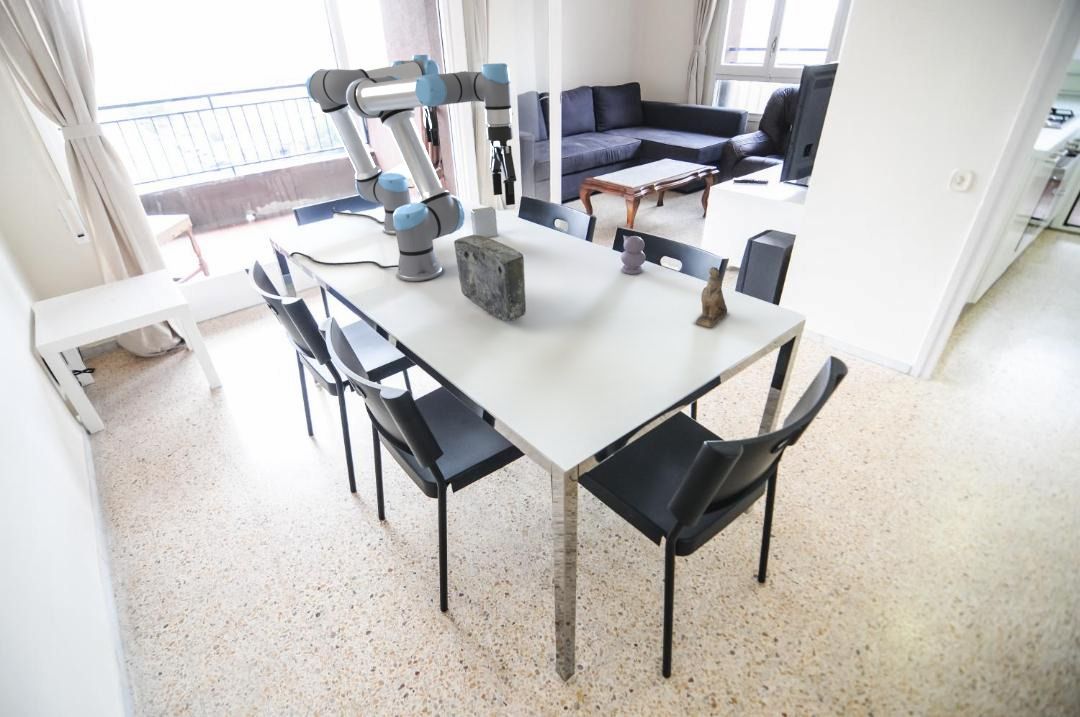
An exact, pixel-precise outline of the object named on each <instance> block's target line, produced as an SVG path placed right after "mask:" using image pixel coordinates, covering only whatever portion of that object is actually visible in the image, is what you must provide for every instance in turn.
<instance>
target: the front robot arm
mask: <svg viewBox="0 0 1080 717" xmlns="http://www.w3.org/2000/svg"><path fill="white" fill-rule="evenodd" d="M346 99H347V103H348V105H349V107H350V111H351V112H352V113H353V114H355V115H356V116H358V117H360V118H362V119H379V120H380V122H381V125H382V126H383V127H384V128H386V129H387V130H389V131H390V134H391V135H392V138H393V140H394V143H395V145H396V147H397V149H398V151H399V153H400V156H401V158H402V160H403V163H404V164H405V167H406V169H407V171H408V174H409V175H410V178H411V180H412V182H413V184H414V187H415V189H416V192H417V194H418V195H419V200H418V202H411V204H406V205H403V206H401V207H399V208H398V209H396V210H395V212H394V214H393V220H394V228H395V231H396V235H395V236H396V241H397V247H398V251H399V259H398V264H396V265H395V264H394V265H381V264H380V263H379V262H376V261H373V260H361V261H353V262H352V261H348V262H325V261H319V260H316V259H314V258H313V257H311V256H310V255H307V254H304V253H303V252H299V251H294V252H291V254H290V255H289V257H292V256H294V255H300V256H302V257H305V258H308V259H309V260H311V262H314V263H316V264H320V265H327V266H329V265H330V266H343V265H344V266H345V265H359V264H373V265H376V266H378V267H379V268H381V269H391V268H397V276H398V278H399V279H400V280H402V281H406V282H413V283H414V282H425V281H429V280H432V279H435V278H438V277H439V276H440V275H441V274H442V273H443V268H442V264H441V263H440V260H439V259H438V256H437V254H436V252H435V250H434V243H433V240H436V239H439V238H442V237H444V236H447V235H451V234H454V233H456V232H458V231H459V230H461V228H463V226H464V224H465V223H464V221H465V218H466V217H465V214H466V213H465V209H464V208H465V207H464V206H463V204H462V202H461V201H460V200H459V199H458V198H457V197H453V196H451V192H450V191H449V190H448V189H445V188H443V185H442V183H441V181H440V178H439V176H438V174H437V172H436V169H435V166H434V165H433V163H432V160H431V158H430V156H429V153H428V151H427V149H426V146H425V144H424V142H423V140H422V136H421V135H420V132H419V130H418V128H417V126H416V124H415V121H414V118H415V116H416V113H415V112H416V111H415V108H423V107H425V106H431V107H433V108H434V107H439V106H445V105H455V104H462V103H469V102H483V103H484V115H485V124H486V125H487V126H486V139H487V140H488V141H489V142H490V153H489V155H490V157H489V171H490V172H491V173H492V174H491V176H492V177H491V178H492V189H493V191H492V192H493V196H500V195H501V196H502V195H503V184H504V198H505V205H506V206H512V205H516V199H515V198H516V196H515V194H516V193H515V182H517V176H516V170H515V163H514V158H513V152H512V145H508V141H511V140H512V139H513V138H514V134H513V126H512V125H511V124H512V123H513V119H512V118H513V117H512V116H513V115H514V111H513V110H512V102H511V99H512V98H511V77H510V68H509V66H508V64H507V63H503V62H502V63H483V64H482V65H481V71H465V70H464V71H457V72H449V73H439V74H427V75H423V76H420V77H413V78H406V79H403V78H400V77H393V76H386V77H376V78H361V79H358V80H355V81H353V82H352V83H351V84H350V85H349V87H348V89H347V92H346ZM502 173H503V177H504V179H503V182H502Z"/></svg>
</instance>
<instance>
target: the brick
mask: <svg viewBox="0 0 1080 717" xmlns="http://www.w3.org/2000/svg"><path fill="white" fill-rule="evenodd" d="M496 212H497V211H496V209H495V208H494V207H493V206H488V207H487V206H486V207H479V208H471V209H470V217H471V218H470V219H471V227H472V235H479V236H483V237H486V238H492V237H493V238H494V237H498V226H497V225H498V223H497V213H496Z"/></svg>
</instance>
